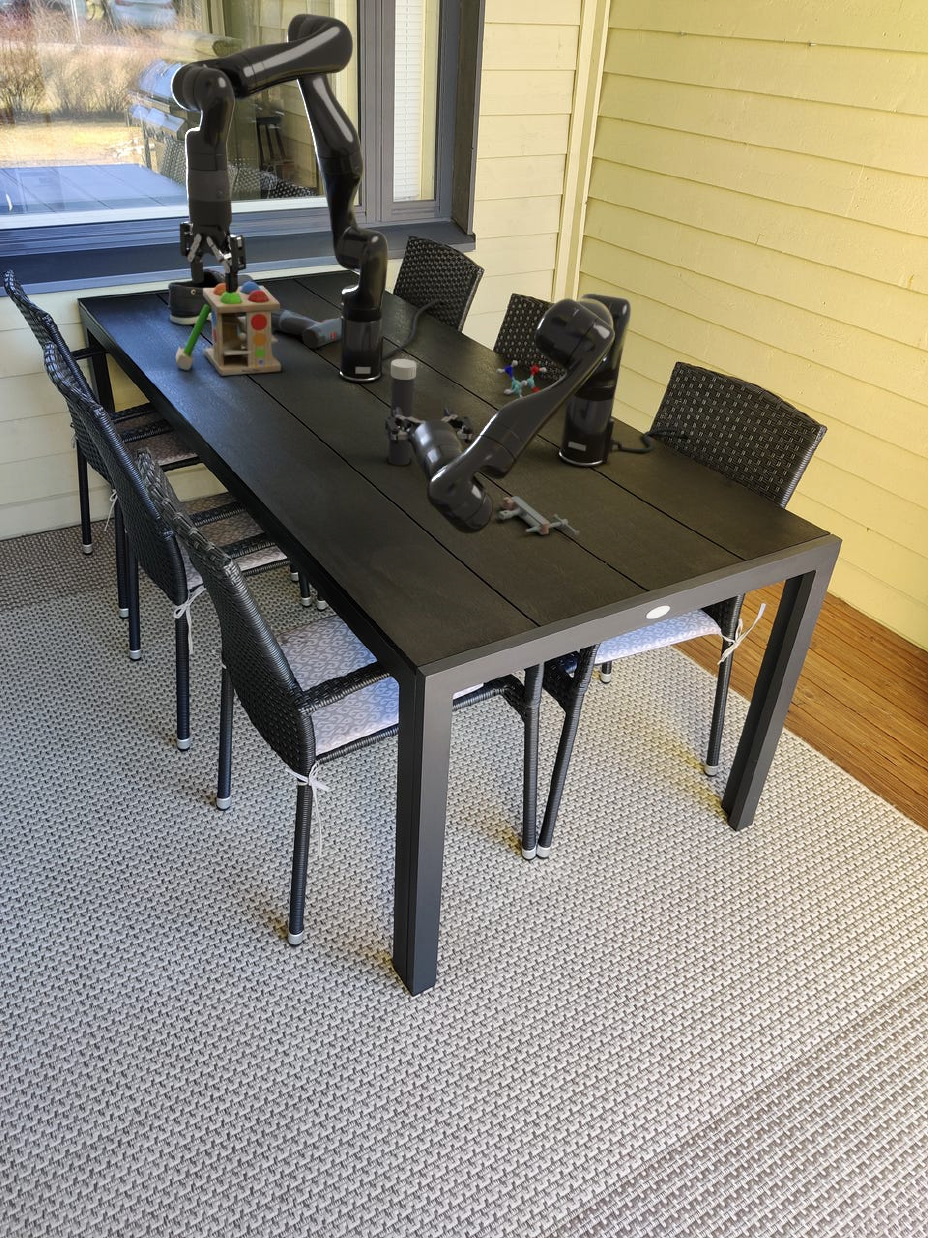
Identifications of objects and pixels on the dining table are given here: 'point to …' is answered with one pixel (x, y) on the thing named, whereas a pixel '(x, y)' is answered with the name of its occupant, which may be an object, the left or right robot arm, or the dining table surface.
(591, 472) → the dining table surface
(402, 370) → the lid
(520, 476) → the dining table surface
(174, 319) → the boat shoe
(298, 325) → the power drill
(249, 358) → the pounding bench toy
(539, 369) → the molecular model
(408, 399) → the bottle
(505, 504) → the clamp
